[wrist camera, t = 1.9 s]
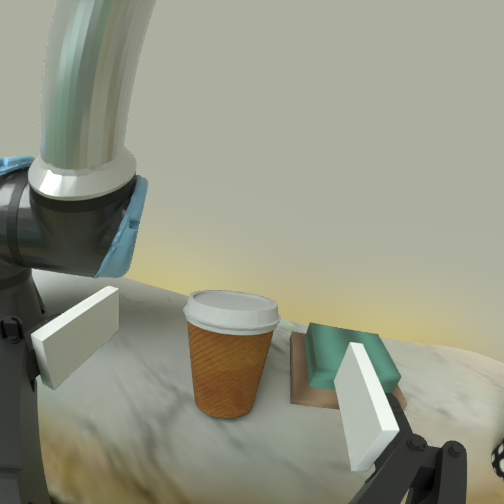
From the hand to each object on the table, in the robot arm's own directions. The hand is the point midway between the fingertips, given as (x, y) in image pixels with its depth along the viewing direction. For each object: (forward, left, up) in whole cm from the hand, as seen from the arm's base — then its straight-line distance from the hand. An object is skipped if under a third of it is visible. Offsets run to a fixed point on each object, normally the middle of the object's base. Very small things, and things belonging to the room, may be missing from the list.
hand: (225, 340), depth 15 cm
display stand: (+16, +21, -16) cm, 30 cm away
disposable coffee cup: (0, +10, -15) cm, 18 cm away
